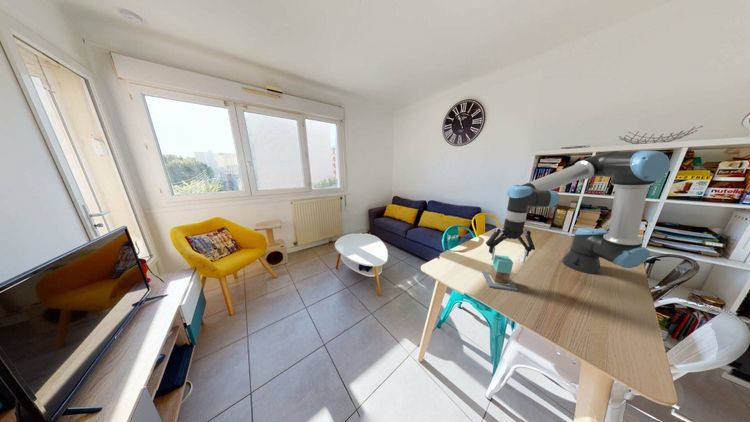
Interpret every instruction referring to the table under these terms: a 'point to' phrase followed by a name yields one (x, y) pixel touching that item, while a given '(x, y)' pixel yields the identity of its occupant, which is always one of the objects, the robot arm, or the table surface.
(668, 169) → the robot arm
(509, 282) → the build pad
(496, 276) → the walnut block
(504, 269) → the teal block
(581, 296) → the table surface
